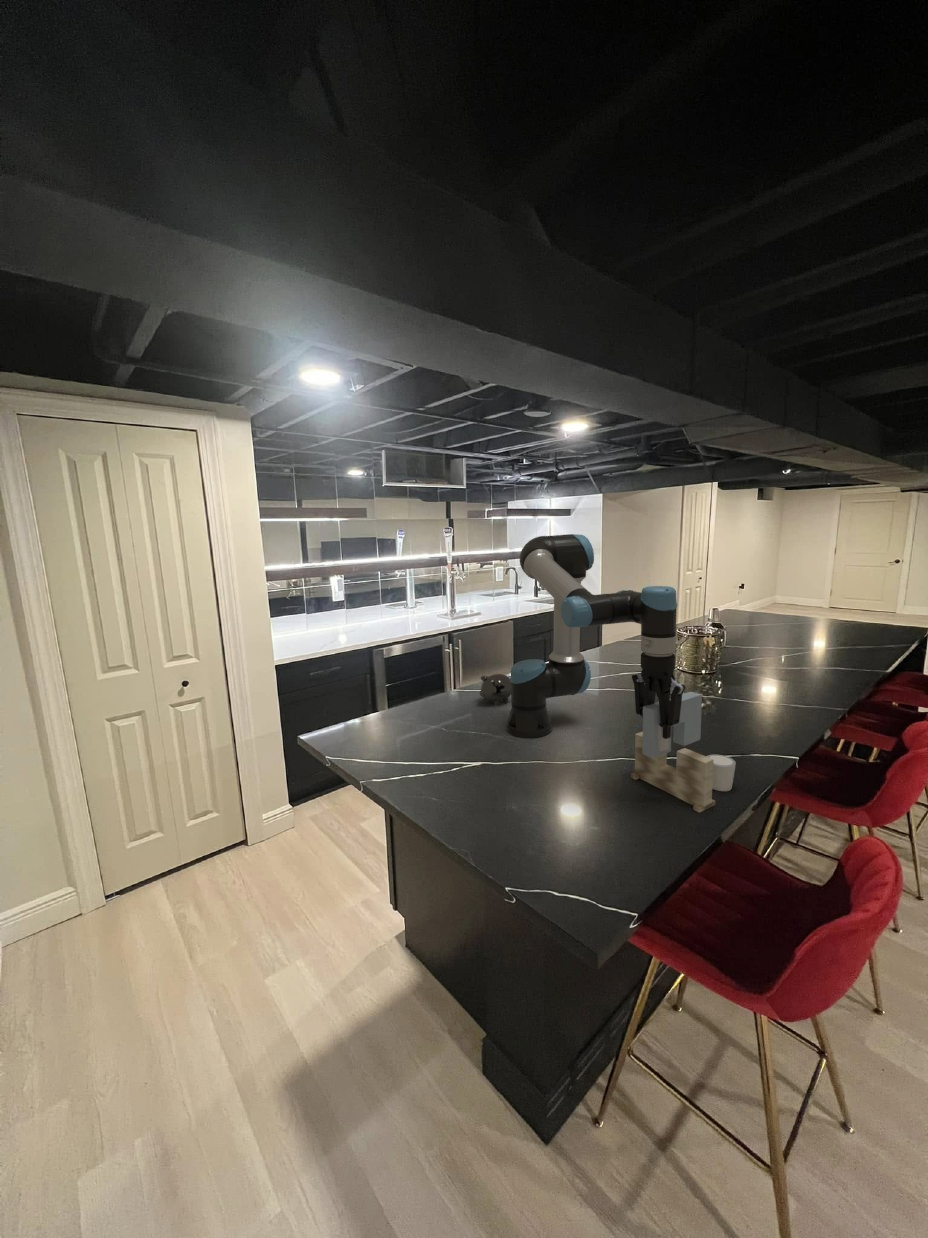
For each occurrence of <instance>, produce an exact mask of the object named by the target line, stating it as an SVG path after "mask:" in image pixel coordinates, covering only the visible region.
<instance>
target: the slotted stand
mask: <svg viewBox="0 0 928 1238" xmlns="http://www.w3.org/2000/svg"><path fill="white" fill-rule="evenodd" d="M634 736H635V737H634V738H635V739H634V772H633V773H631V774H630V778H631V779H633V780H635V781H636V780H639V779H640V780H642V781H643V782H646V783H648V784H650V785H651V786H654V787H656V788H657V789H660V790H662V791H663V792H666V793H667V794H670V795H672V796H673V797H676V798H677V799H679V800H682V801H683V802H685V803H687V804H690V805H692V806H693V807H692V810H693V811H695V812H697V813H699V814H700V813H702V812H704V811H706V810H708V809H710V808H711V807H714V806H715V805H716V800H715V799H712V798H713V789H712V783H713V760H714V759H711V758H709V757H706V756H707V755H706V756H705V755H703V754H701V753H699V752H696V751H694V750H691V749H688V748H685V747H684V748H681V749H679V750H677V751H676V763H675V766H676V767H673V766H671V765H669V764H667V760H668V759H667V758H668V757H667V756H668V753H666V754H663V755H661V756H658V757H656V758H650V757H648V756H646V755H644V754H642V749H643V730H642V731H640V732H637V733H635V734H634Z"/></svg>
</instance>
